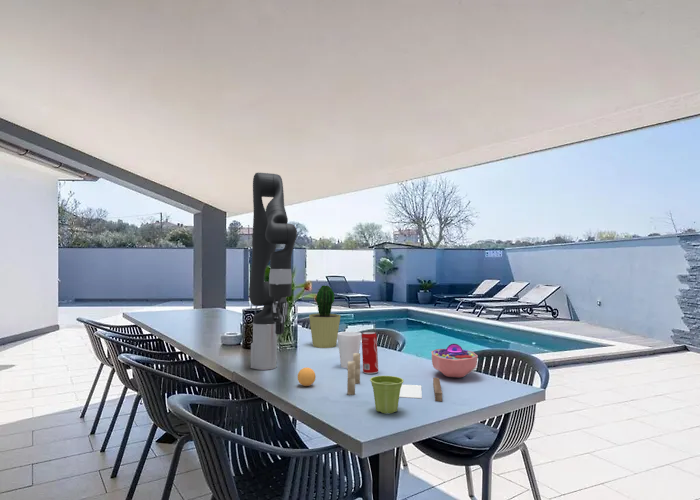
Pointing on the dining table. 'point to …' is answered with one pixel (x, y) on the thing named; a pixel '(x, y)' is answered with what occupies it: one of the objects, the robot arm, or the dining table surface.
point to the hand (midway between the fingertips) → (279, 333)
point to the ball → (306, 376)
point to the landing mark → (411, 391)
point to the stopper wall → (437, 389)
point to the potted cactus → (324, 320)
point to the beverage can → (369, 352)
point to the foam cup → (348, 346)
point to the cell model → (454, 361)
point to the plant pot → (386, 393)
